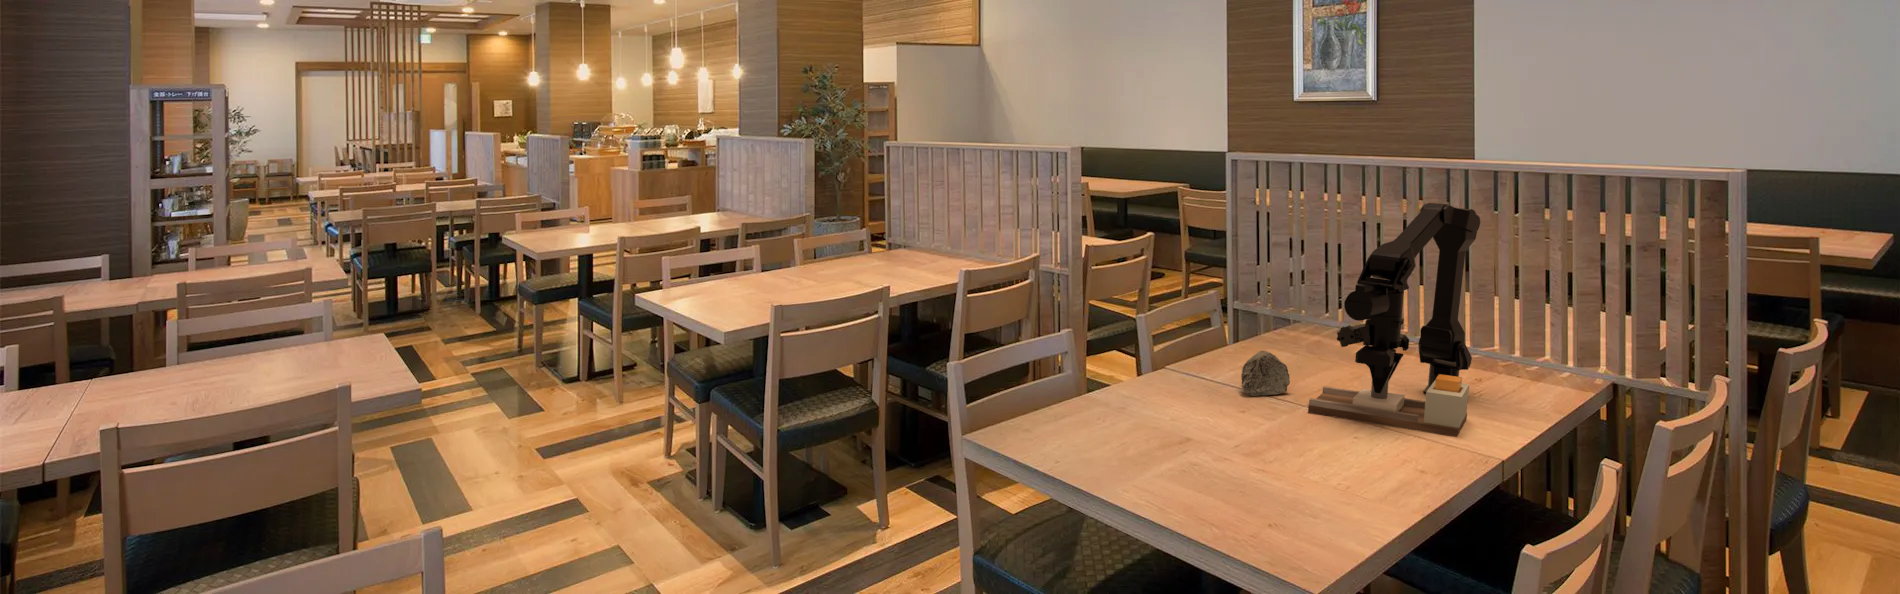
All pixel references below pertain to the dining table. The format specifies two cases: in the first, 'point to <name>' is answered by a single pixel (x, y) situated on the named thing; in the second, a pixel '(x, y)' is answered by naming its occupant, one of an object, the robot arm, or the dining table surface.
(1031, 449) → the dining table surface
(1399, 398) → the carriage
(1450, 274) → the robot arm
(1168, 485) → the dining table surface
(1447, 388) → the button
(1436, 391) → the button housing
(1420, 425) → the track
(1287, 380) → the stone
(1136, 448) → the dining table surface
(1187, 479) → the dining table surface
